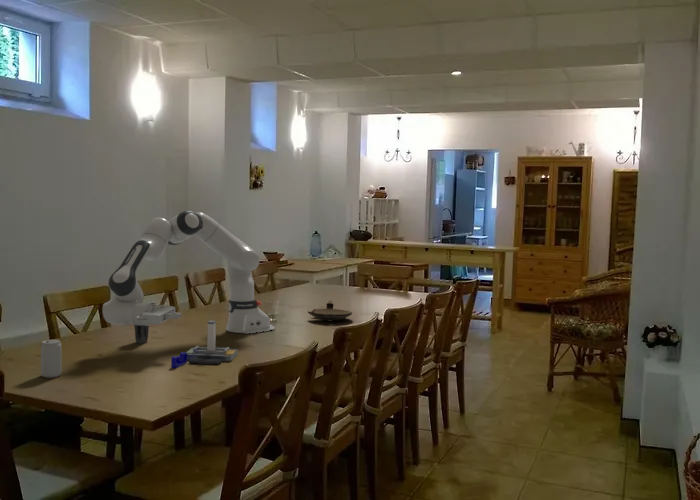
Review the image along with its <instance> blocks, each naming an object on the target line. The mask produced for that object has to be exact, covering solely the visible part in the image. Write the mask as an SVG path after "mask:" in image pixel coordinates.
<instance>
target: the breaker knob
mask: <svg viewBox="0 0 700 500" xmlns="http://www.w3.org/2000/svg"><path fill="white" fill-rule="evenodd" d="M216 322H217V320H208V321H207V350H212V351H215V347H216V336H217V335H216V334H217V333H216V332H217V331H216V330H217V329H216V327H217V326H216Z"/></svg>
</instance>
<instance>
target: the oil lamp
mask: <svg viewBox="0 0 700 500" xmlns="http://www.w3.org/2000/svg"><path fill="white" fill-rule="evenodd" d="M307 313H308V314H309V315H310V316H312V317H314V318H316V319H318V320H320V321H327V320H337V321H340V320H344V319H346V318H347V317H350V316H351V315H352V314H353V312H352V311H350V310H343V309H336V308H334V303H333V301H332V300H331V299H329V300H328V302H327V303H326V308H314V309H312V310H311V311H307Z"/></svg>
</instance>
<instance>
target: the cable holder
mask: <svg viewBox="0 0 700 500" xmlns="http://www.w3.org/2000/svg"><path fill="white" fill-rule="evenodd" d="M170 361H171V363H170V364H171V369H177V367H178V368H180V367H181V365H182V366H184V365H185V363H186V364H187V363H188V360H187V353H186V352H184V351H183V352H182V351H181V352H180V353H179V355H177V356H174V355H173V356H171V360H170ZM183 364H184V365H183ZM179 366H180V367H179Z"/></svg>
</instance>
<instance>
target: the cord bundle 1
mask: <svg viewBox="0 0 700 500" xmlns="http://www.w3.org/2000/svg"><path fill="white" fill-rule="evenodd" d="M203 347H206V348H207V346H205V345H204V346H203ZM227 347H229V346H215V348H227ZM229 348H230V349H232V348H231V347H229Z"/></svg>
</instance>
